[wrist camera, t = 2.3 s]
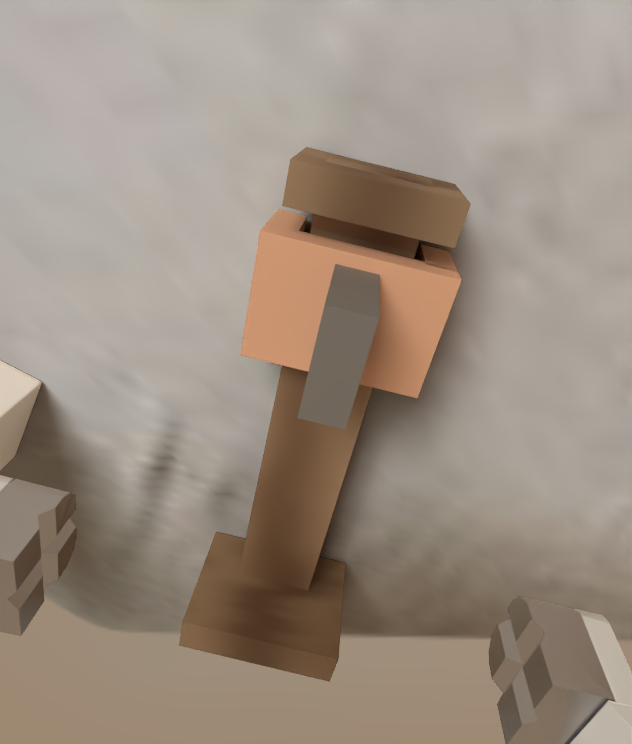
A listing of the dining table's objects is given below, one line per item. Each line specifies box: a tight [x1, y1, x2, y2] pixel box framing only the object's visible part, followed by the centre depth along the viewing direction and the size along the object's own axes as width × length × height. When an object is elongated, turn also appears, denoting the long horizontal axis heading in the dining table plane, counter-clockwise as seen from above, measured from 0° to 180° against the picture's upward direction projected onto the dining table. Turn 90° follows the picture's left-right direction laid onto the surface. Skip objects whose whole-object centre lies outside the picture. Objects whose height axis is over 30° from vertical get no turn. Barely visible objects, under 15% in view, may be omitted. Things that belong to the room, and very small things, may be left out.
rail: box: [179, 147, 470, 681], centre depth 23 cm, size 8×24×6 cm, turn 168°
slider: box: [240, 209, 462, 430], centre depth 19 cm, size 7×5×8 cm
